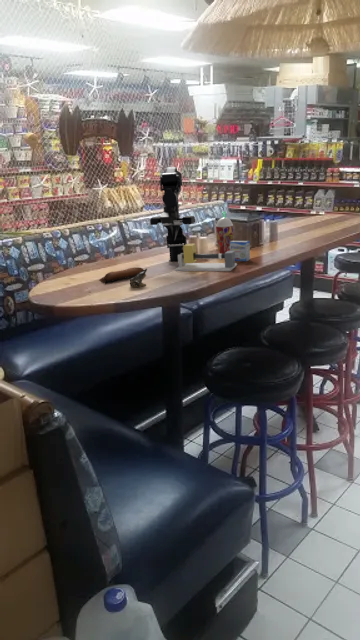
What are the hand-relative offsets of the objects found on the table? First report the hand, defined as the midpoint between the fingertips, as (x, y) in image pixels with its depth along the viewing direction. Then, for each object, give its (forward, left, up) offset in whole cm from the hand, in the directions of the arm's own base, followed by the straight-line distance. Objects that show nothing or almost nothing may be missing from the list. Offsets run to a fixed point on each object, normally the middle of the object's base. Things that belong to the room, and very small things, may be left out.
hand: (173, 240), depth 222 cm
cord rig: (+14, 0, -12) cm, 18 cm away
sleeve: (+7, 0, -9) cm, 12 cm away
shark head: (-2, -33, -12) cm, 35 cm away
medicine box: (+25, +16, -12) cm, 32 cm away
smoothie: (+14, +32, -12) cm, 37 cm away
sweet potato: (-16, -21, -13) cm, 29 cm away
